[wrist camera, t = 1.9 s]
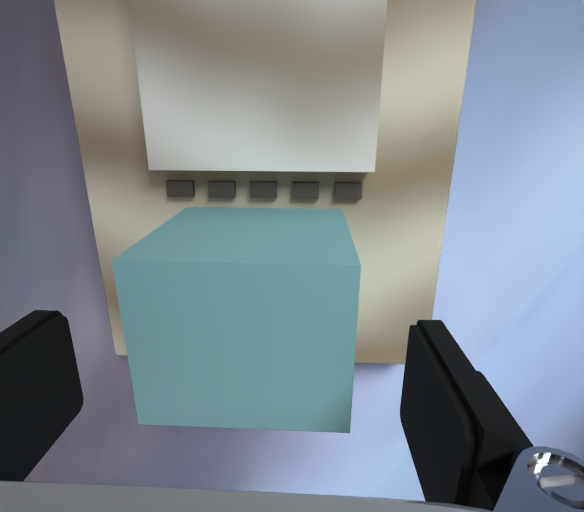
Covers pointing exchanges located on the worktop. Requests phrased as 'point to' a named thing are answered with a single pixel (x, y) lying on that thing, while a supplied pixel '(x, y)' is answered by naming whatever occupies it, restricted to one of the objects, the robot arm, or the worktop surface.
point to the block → (242, 319)
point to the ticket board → (276, 128)
